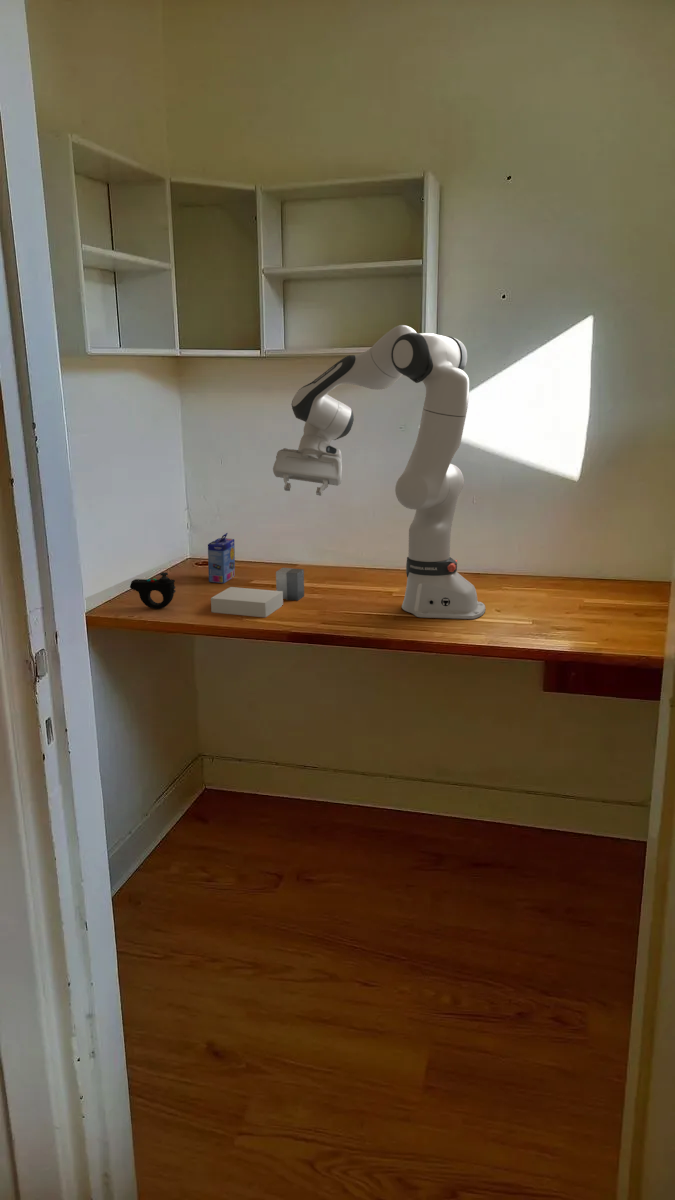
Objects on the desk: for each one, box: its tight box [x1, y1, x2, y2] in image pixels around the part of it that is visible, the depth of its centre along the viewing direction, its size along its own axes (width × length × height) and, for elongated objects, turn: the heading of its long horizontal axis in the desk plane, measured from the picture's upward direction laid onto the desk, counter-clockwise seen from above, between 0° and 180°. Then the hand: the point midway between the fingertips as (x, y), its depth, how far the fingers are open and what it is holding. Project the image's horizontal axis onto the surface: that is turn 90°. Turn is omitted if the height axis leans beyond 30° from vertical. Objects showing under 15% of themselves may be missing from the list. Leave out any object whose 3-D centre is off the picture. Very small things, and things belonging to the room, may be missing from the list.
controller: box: [129, 572, 177, 610], centre depth 232 cm, size 4×12×10 cm, turn 84°
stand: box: [210, 586, 284, 618], centre depth 231 cm, size 16×12×4 cm
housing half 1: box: [275, 567, 294, 601], centre depth 242 cm, size 3×5×8 cm, turn 161°
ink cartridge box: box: [207, 532, 236, 584], centre depth 261 cm, size 10×6×14 cm, turn 166°
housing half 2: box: [286, 568, 305, 602], centre depth 241 cm, size 3×5×8 cm, turn 161°
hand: (302, 492), depth 243 cm, fingers open, 8 cm apart
